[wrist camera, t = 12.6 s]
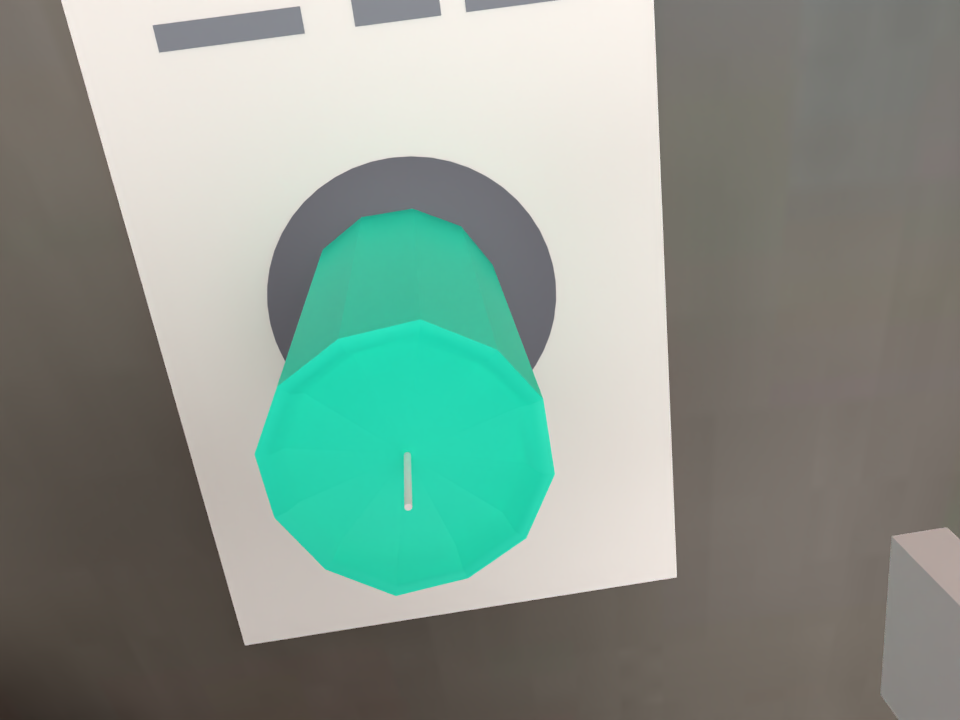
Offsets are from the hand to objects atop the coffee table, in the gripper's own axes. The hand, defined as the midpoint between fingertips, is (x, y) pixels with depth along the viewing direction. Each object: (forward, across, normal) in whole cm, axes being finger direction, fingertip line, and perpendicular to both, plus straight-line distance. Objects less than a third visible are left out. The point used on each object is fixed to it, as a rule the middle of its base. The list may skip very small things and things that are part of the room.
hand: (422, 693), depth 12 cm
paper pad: (+17, 0, 0) cm, 17 cm away
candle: (+17, 0, 0) cm, 17 cm away
